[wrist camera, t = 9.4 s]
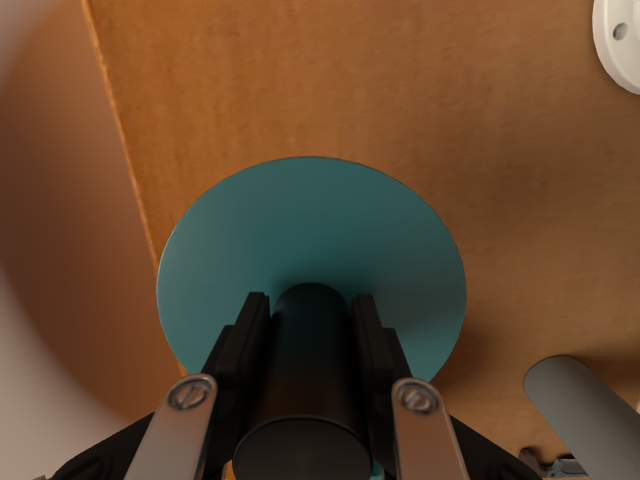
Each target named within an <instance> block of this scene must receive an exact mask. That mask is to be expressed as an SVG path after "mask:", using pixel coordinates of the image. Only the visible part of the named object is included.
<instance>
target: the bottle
mask: <svg viewBox="0 0 640 480" xmlns="http://www.w3.org/2000/svg"><path fill="white" fill-rule="evenodd" d="M523 387H524V391H525V393H526V394H527V396H528V397H529V399H530V400H531V401H532V403H533V404H534V405H535V407H536V408H537V409H538V411H539V412H540V413H541V414H542V416H543V417H544V418H545V420H546V421H547V422H548V424H549V425H550V426H551V427H552V429H553V430H554V431H555V433H556V434H557V435H558V436H559V438H560V439H561V440H562V442H563V443H564V444H565V446H566V447H567V448H568V449H569V451H570V452H571V453H572V455H573V456H574V457H575V458H576V460H577V461H578V462H579V464H580V465H581V466H582V467H583V469H584V470H585V471H586V472H587V474H588V475H589V476H590V478H591V479H592V480H640V414H639V413H638V412H637V411H635V410H634V409H633V408H632V407H631V406H630V405H629V404H627V403H626V402H625V401H624V400H623V399H622V398H621V397H620V396H618V395H617V394H616V393H615V392H614V391H613V390H612V389H611V388H609V387H608V386H607V385H606V384H605V383H604V382H603V381H601V380H600V379H599V378H598V377H597V376H596V375H595V374H594V373H592V372H591V371H590V370H589V369H588V368H587V367H586V366H584V365H583V364H582V363H581V362H579V361H578V360H576V359H574V358H571V357H567V356H556V357H551V358H548V359H545V360H543V361H541V362H539V363H537V364H536V365H535V366H533V367H532V368H531V369H530V370H529V371H528V373H527V374H526V376H525V379H524V383H523Z"/></svg>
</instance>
